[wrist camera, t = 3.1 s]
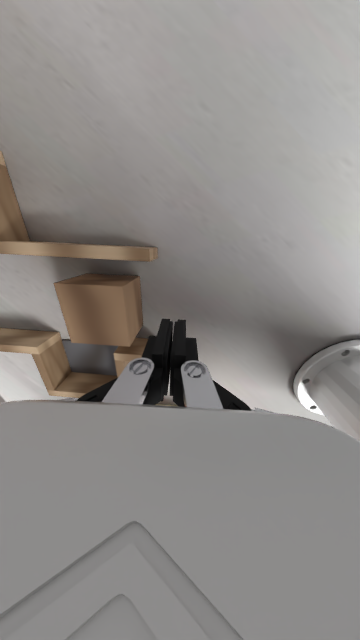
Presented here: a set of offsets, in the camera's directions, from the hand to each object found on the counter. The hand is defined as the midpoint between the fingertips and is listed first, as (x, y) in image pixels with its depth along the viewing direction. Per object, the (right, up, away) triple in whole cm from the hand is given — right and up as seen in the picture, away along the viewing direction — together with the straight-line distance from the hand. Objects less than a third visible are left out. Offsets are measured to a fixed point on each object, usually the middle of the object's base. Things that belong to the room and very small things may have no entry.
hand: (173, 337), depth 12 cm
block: (-7, +4, +8) cm, 11 cm away
